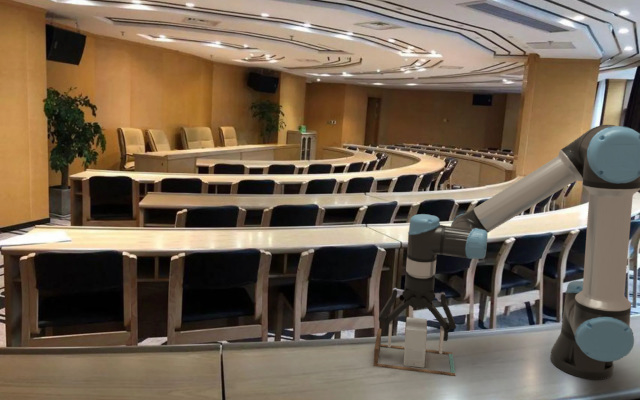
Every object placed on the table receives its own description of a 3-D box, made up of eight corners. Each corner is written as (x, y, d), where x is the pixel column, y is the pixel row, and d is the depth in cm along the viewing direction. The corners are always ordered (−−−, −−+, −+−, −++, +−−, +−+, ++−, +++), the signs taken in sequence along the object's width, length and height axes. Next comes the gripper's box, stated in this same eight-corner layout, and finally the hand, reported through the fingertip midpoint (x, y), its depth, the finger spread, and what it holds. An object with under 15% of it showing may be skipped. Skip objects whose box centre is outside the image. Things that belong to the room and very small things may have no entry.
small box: (424, 368, 132) (427, 331, 130) (402, 365, 133) (405, 329, 131) (424, 353, 140) (427, 318, 138) (404, 351, 141) (406, 316, 139)
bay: (452, 353, 141) (453, 336, 140) (455, 376, 129) (457, 358, 128) (376, 344, 144) (377, 328, 143) (373, 366, 133) (374, 348, 132)
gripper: (468, 273, 133) (461, 347, 137) (373, 264, 138) (369, 336, 142) (471, 283, 126) (463, 360, 130) (371, 273, 130) (367, 349, 135)
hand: (414, 348), depth 136 cm, fingers open, 13 cm apart
